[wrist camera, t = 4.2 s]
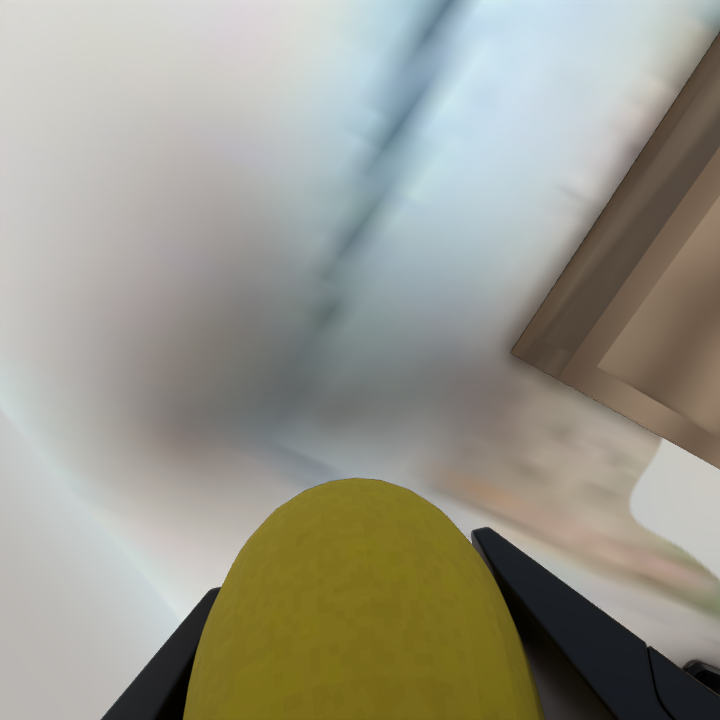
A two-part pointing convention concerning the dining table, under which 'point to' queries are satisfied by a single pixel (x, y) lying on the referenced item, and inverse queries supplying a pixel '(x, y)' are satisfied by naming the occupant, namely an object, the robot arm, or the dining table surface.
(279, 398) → the dining table surface
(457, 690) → the lemon
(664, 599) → the dining table surface
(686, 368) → the tray
